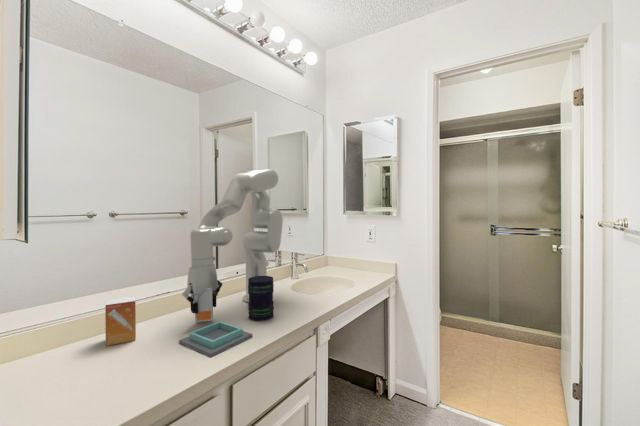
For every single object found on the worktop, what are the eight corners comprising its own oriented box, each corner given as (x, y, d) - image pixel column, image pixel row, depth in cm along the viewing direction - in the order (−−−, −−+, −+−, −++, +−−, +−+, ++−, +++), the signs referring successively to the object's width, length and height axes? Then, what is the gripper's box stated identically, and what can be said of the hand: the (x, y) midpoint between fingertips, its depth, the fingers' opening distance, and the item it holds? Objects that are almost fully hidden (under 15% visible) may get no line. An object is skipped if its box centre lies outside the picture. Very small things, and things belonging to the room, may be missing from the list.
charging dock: (221, 326, 108) (221, 318, 108) (252, 336, 99) (252, 327, 99) (179, 343, 95) (178, 333, 94) (210, 357, 86) (210, 346, 86)
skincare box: (195, 322, 109) (193, 290, 108) (196, 318, 113) (195, 286, 112) (212, 320, 110) (211, 288, 110) (213, 316, 114) (212, 285, 114)
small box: (105, 347, 92) (104, 304, 92) (106, 339, 98) (105, 299, 97) (136, 340, 97) (135, 300, 96) (135, 333, 102) (134, 295, 102)
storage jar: (253, 323, 111) (253, 283, 110) (244, 315, 119) (244, 277, 119) (278, 317, 116) (277, 279, 116) (267, 310, 124) (267, 274, 124)
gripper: (215, 257, 120) (217, 301, 121) (174, 265, 105) (176, 315, 106) (228, 259, 116) (229, 304, 116) (186, 268, 101) (188, 319, 102)
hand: (204, 309), depth 111 cm, fingers closed on skincare box, 7 cm apart
